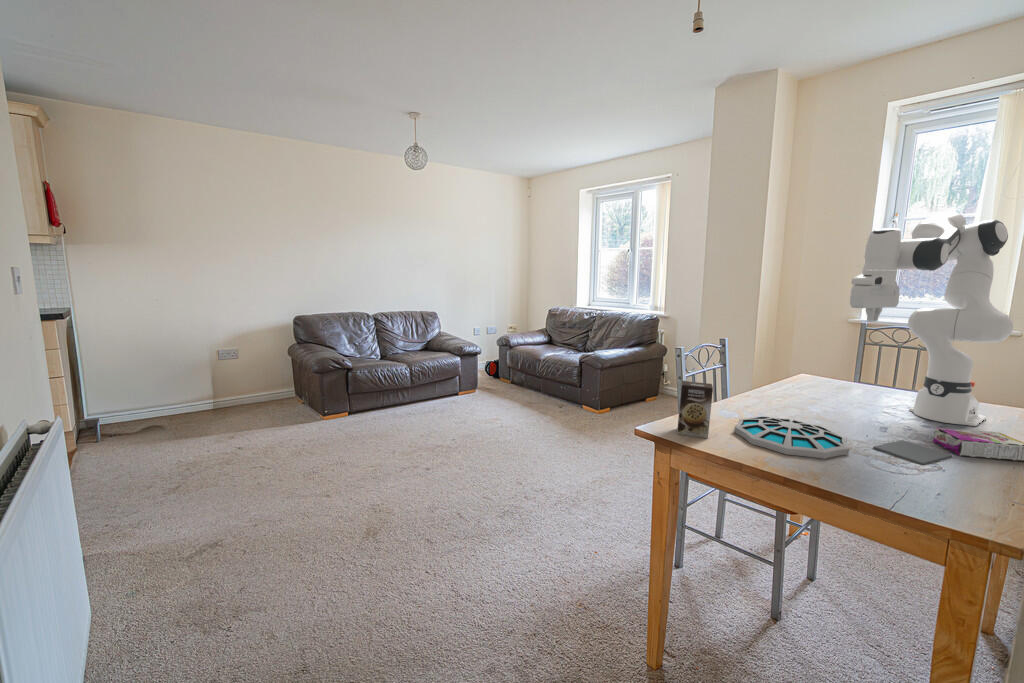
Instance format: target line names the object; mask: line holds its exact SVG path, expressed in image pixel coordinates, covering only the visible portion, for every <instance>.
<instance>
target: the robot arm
mask: <svg viewBox="0 0 1024 683" xmlns="http://www.w3.org/2000/svg"><path fill="white" fill-rule="evenodd" d="M1008 238H1009V233H1008V229H1007V227H1006V225H1005V224H1004V223H1003V222H1002V221H1000V220H998V219H989V220H982V221H980V222H976V223H972V224H968V225H967V220H966V218H965V217H964V215H962V214H961V213H959V212H956V211H946V212H941V213H937V214H934V215H932V216H929V217H928V218H926V219H924V220H922V221H921V222H919V223H918V224H916V226H915V227H914V228H913V230H912V233H911V239H909V238H908V239H902V232H901V229H900V228H897V227H896V228H895V227H887V228H878V229H874V230H872V231H871V232H870V233H869V236H868V239H867V241H866V246H865V250H864V255H863V257H864V266H863V268H862V272H861V273H859V274H857V275H856V276H854V277H852V279H851V285H852V287H851V291H850V295H849V296H850V297H849V298H850V299H849V305H850V307H851V308H853V309H865V314H866V321H867V322H871V323H872V322H878V321H879V317H880V315H881V313H882V312H883V308H884V309H885V308H896V307H898V304H899V303H900V302H899V301H900V300H899V299H900V287H899V285H898V283H897V281H896V280H897V275H898V270H921V271H936V270H938V269H939V268H941V267H942V266H943V265H945V264H946V262H948V261H954V260H956V264H955V266H954V268H953V269H952V271H951V273H950V275H949V279H948V282H947V284H946V288H945V291H944V294H943V295H944V300H945V302H947V304H948V305H949V306H951V307H953V308H950V307H925V308H924V307H923V308H918V309H915V311H913V312H912V313H911V314H910V315H909V318H908V321H907V325H908V330H909V331H910V332H911V333H912V334H913V335H914V336H915V337H917V338H918V339H919V341H920V342H922V344H923V345H924V346H925V349H926V350H927V354H928V355H927V356H928V363H927V374H926V376H924V379H923V388H921V389H918V391H917V394H916V397H915V401H914V406H911V407H909V409H908V410H909V411H911V412H912V413H914V415H915V416H918V417H921V418H924V419H927V420H931V421H935V422H940V423H945V424H953V425H963V426H964V425H965V426H971V427H976V426H979V425H980V424H981V423H983V422H984V421H986V420H985V419H987V416H985V415H982V414H979V412H978V411H979V405H980V404H979V403H980V402H979V401H978V400H977V399H976V398H975V396H974V395H973V394H972V391H973V390H972V388H975V386H976V382H975V381H971V378H972V372H973V367H974V360H973V358H972V357H971V356H970V355H968V354H967V353H965V352H963V351H962V350H959V349H957V348H955V347H954V346H953V345H952V344H953V343H952V341H953V342H954V341H956V342H969V343H975V344H976V343H977V344H989V343H991V344H994V343H1002V342H1003V341H1006V340H1007V339H1008V338H1009V337H1010V336H1011V334H1012V333H1013V330H1014V322H1013V321H1012V319H1011V317H1010V316H1009V315H1008V314H1007V313H1004V312H1003V311H1000V310H999V309H997V308H996V307H995V306H994V305H993V304H992V303H991V300H990V292H991V287H992V283H993V279H994V263H993V260H992V259H991V257H994V256H996V255H997V254H999V252H1000V250H1001V249H1002V248H1003V247H1004V246H1005V245H1006V243H1007V241H1008ZM983 420H984V421H983ZM982 421H983V422H982ZM979 423H980V424H979Z"/></svg>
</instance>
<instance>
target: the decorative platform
mask: <svg viewBox="0 0 1024 683" xmlns="http://www.w3.org/2000/svg"><path fill="white" fill-rule="evenodd" d="M734 433H735V434H736V435H737V436H740V437H742V438H743V439H744V440H746V441H747V442H748V443H750V444H751V445H753V446H758V447H761V448H765V449H768V450H771V451H775V452H778V453H780V454H783V455H786V456H787V455H788V456H789V455H790V456H798V457H799V456H800V457H808V458H817V459H824V460H826V459H830V458H833V457H839V456H848V455H849V453H850V448H849V446H848V444H847V443H848V442H847V441H848V438H846V437H844V436H842V435H839V434H838V433H835V432H834V431H832V430H829V429H827V428H826V427H824V426H821V425H818V424H813V423H808V422H803V421H800V420H796V419H793V418H783V417H781V418H780V417H773V416H766V415H765V416H760V415H759V416H756V417H750V418H747V417H746V418H739V419H738V424H737V425H736V426H735V427H734Z"/></svg>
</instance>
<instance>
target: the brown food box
mask: <svg viewBox="0 0 1024 683" xmlns="http://www.w3.org/2000/svg"><path fill="white" fill-rule="evenodd" d="M713 386H714V385H713V384H712V383H707V382H699V381H698V382H697V381H688V380H687V381H686V380H682V381H681V386H680V396H679V397H680V398H679V407H678V408H679V409H678V418H677V430H676V433H677V435H680V436H681V435H682V436H688V437H695V438H700V439H701V438H702V439H709V432H710V431H709V430H710V422H711V411H712V400H713V392H714V387H713Z"/></svg>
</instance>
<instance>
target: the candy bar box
mask: <svg viewBox="0 0 1024 683" xmlns="http://www.w3.org/2000/svg"><path fill="white" fill-rule="evenodd" d="M934 429H935V430H934V434H933V440H932V442H933V443H934V444H936V445H938V446H940V447H941V448H944V449H945V450H948V451H950V452H951V453H953V454H955V455H957V456H958V457H959V456H960V457H970V458H979V459H980V458H982V459H983V458H984V459H994V460H995V459H996V460H1005V461H1019V462H1024V442H1023V441H1021V440H1019V439H1016V438H1013V437H1011V436H1008V435H1006V434H1004V433H1001V432H999V431H983V430H971V429H969V430H968V429H955V428H942V427H935V428H934Z"/></svg>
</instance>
